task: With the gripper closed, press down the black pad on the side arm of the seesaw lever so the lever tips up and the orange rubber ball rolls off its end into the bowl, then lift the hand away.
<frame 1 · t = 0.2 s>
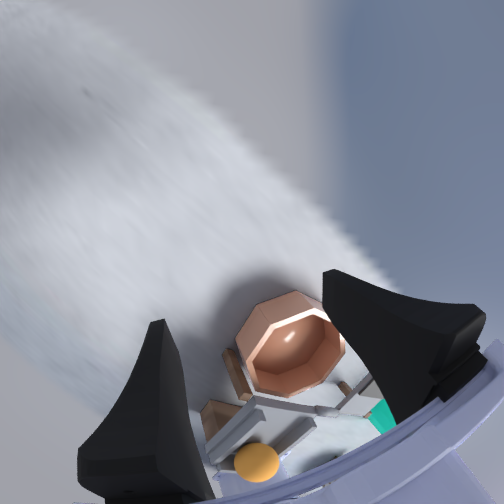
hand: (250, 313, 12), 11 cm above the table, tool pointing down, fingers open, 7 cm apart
lever stand: (265, 364, 27), on the table
bowl: (284, 337, 26), on the table
ball: (256, 462, 20), point 8 cm above the table, tilted 26°, touching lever
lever: (313, 428, 22), point 7 cm above the table, hinge at -6.0°, touching ball
candle: (381, 405, 37), on the table
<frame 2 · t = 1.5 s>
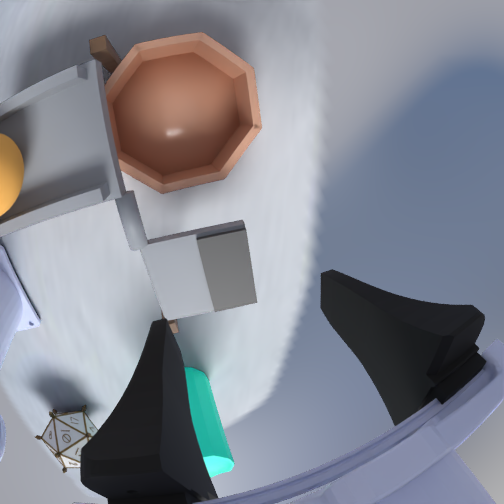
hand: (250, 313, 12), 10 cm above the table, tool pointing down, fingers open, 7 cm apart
game die: (75, 412, 26), on the table
lever stand: (125, 125, 16), on the table
bowl: (176, 112, 17), on the table
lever: (93, 218, 12), point 7 cm above the table, hinge at -6.0°, touching ball
candle: (181, 383, 28), on the table
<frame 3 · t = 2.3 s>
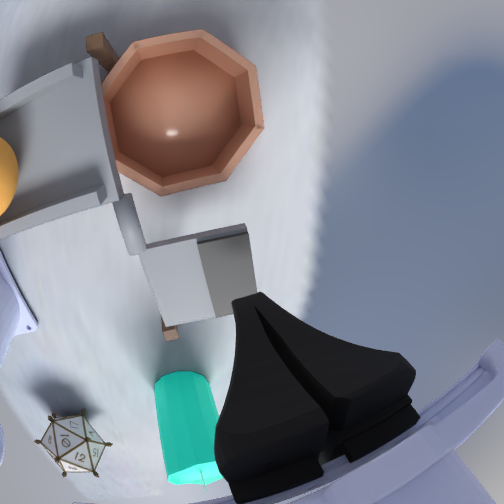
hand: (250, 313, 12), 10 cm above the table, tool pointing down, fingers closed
game die: (74, 416, 25), on the table
lever stand: (123, 125, 16), on the table
bowl: (175, 111, 16), on the table
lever: (90, 222, 11), point 7 cm above the table, hinge at -6.0°, touching ball
candle: (181, 387, 27), on the table
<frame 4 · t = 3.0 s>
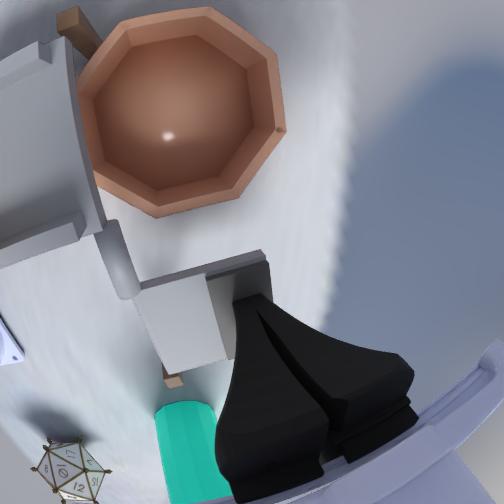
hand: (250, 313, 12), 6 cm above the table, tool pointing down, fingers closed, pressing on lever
game die: (71, 441, 22), on the table
lever stand: (109, 127, 12), on the table
bowl: (173, 110, 13), on the table
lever: (66, 262, 8), point 7 cm above the table, hinge at 0.5°, touching gripper
candle: (184, 415, 24), on the table
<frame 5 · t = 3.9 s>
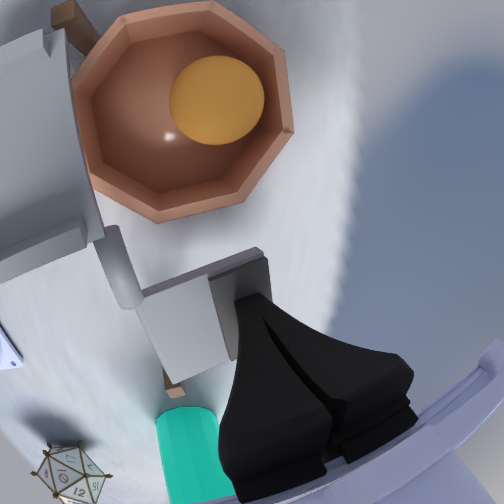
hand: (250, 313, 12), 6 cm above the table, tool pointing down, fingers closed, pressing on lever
game die: (71, 445, 21), on the table
lever stand: (107, 127, 12), on the table
bowl: (175, 109, 13), on the table
ball: (216, 99, 11), point 2 cm above the table, tilted 48°, touching bowl
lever: (68, 274, 7), point 7 cm above the table, hinge at 11.3°, touching gripper
candle: (185, 421, 23), on the table
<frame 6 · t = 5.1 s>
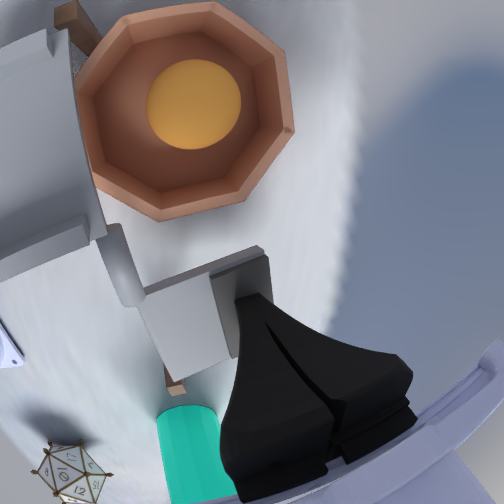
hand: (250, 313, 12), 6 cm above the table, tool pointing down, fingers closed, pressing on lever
game die: (72, 444, 21), on the table
lever stand: (110, 126, 12), on the table
bowl: (177, 109, 13), on the table
ball: (193, 103, 11), point 2 cm above the table, tilted 79°, touching bowl
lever: (70, 271, 7), point 7 cm above the table, hinge at 11.4°, touching gripper
candle: (186, 419, 24), on the table
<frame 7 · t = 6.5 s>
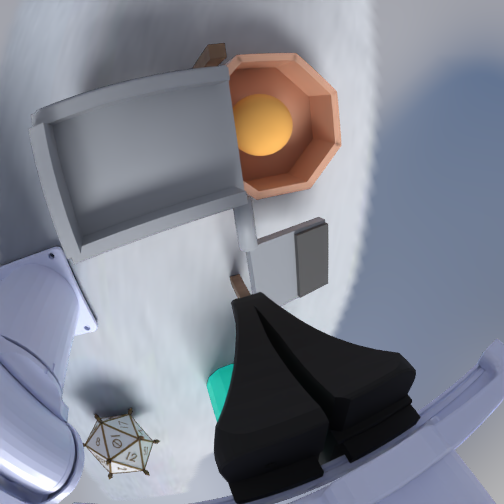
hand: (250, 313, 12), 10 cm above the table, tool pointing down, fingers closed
game die: (118, 415, 27), on the table
lever stand: (208, 130, 18), on the table
bowl: (257, 122, 19), on the table
ball: (260, 124, 16), point 2 cm above the table, tilted 115°, touching bowl
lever: (224, 222, 13), point 7 cm above the table, hinge at 11.4°
candle: (232, 379, 30), on the table
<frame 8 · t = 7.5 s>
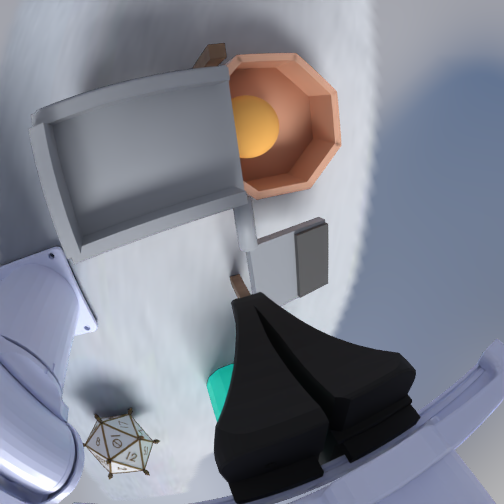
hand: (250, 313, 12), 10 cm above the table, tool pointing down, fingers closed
game die: (118, 415, 27), on the table
lever stand: (208, 130, 18), on the table
bowl: (257, 122, 19), on the table
ball: (246, 126, 16), point 2 cm above the table, tilted 140°, touching bowl
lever: (224, 222, 13), point 7 cm above the table, hinge at 11.4°
candle: (232, 379, 30), on the table
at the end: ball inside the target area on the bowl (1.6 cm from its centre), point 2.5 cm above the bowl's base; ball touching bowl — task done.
